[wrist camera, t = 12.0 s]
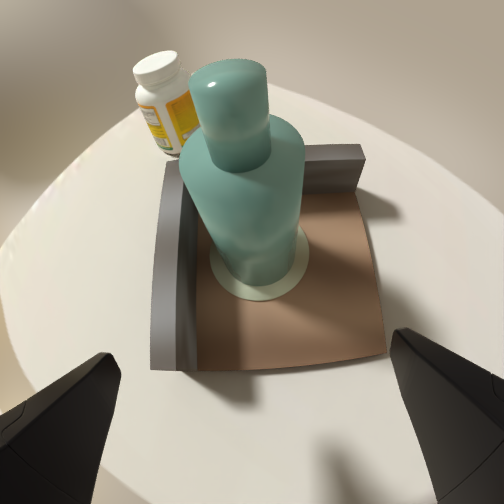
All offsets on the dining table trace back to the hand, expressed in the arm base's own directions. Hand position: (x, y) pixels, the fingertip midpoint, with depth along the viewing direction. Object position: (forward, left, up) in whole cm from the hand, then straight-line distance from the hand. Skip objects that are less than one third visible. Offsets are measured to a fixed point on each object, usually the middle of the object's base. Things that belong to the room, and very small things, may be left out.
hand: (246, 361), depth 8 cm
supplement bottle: (+22, +7, -11) cm, 25 cm away
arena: (+7, -1, -11) cm, 13 cm away
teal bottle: (+8, 0, -10) cm, 12 cm away
